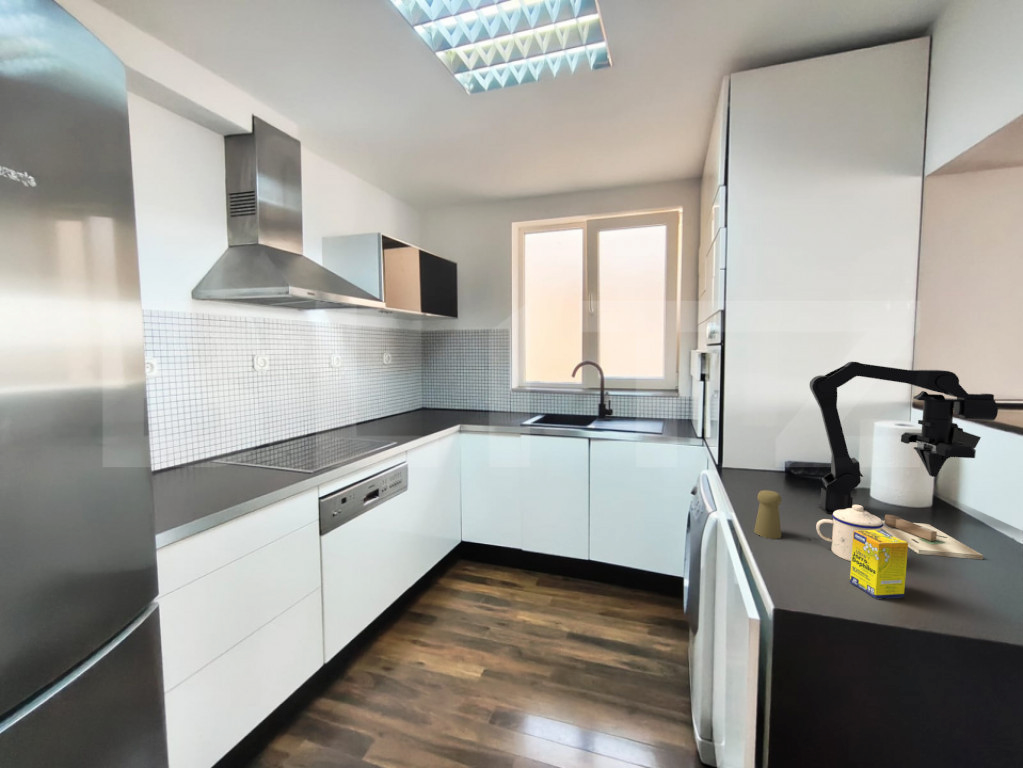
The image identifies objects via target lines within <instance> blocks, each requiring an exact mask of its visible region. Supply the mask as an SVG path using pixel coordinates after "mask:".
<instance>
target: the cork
mask: <svg viewBox="0 0 1023 768" xmlns="http://www.w3.org/2000/svg"><path fill="white" fill-rule="evenodd" d="M757 502H759V505H758V510H757V515H756V520H755V524H754V530H753V533H754V532H755V533H756V534H758V535H760V536H762V537H761V538H763V537H766V538H765V539H767V538H771V539H770V540H778V539H777V538H780V537H781V536H782V528H781V520H780V510H779V507H780V506H781V503H782V496H781V494H780V493H779V492H777V491H774V490H768V489H766V490H765V489H764V490H763V489H762V490H759V492H758V494H757ZM755 533H754V534H755ZM756 534H755V535H756ZM758 535H757V536H758ZM760 536H759V537H760ZM781 538H782V537H781ZM781 538H780V539H781Z"/></svg>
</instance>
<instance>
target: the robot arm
mask: <svg viewBox="0 0 1023 768" xmlns="http://www.w3.org/2000/svg"><path fill="white" fill-rule="evenodd" d="M856 377H862V378H863V377H864V378H870V379H876V380H881V381H882V380H883V381H889V382H896V383H901V384H902V383H903V384H908V385H912V386H914V387H918V388H921V389H924V390H925V391H924V390H921V392H919V393H918V394H917V395H915V396H913V399H914V400H917V401H923V407H922V419H918V421H917V424H918V425H921V432H904V433H903V434H901V436H900V442H901V443H903V444H906V445H907V444H910V443H917V446H915V447H913V450H915V451H916V453H917V455H918V456H919V458H920V460H921V462H922V463H923V465H924V467H925V470H926V471H927V473H928V475H929V477H933V478H936V477H937V476H938V474H939V473H940V471H941V469H942V467H943V466H944V464H945V463H946V461H947V460H948V459H950V458H962V459H963V458H964V459H965V458H966V459H976V451H977V449H976V448H977V446H978V444H979V442H980V440H981V438H982V437H981V436H978V435H976V434H972V433H970V432H966V431H964V429H963V428H962V427H959V425H958V423H955V422H953V420H954V415H956V416H958V417H959V419H960V420H968V421H970V420H971V421H985V422H986V421H987V422H989V421H990V422H993V421H995V420H996V419H997V416H998V413H999V411H998V410H999V408H998V405H997V402H996V400H995V394H993V393H968V392H967V391H966V389H964V388H963V387H962V386H961V384H960V379H959V376H958V375H957V374H956V373H955V372H953V371H951V370H950V371H949V370H943V369H903V368H896V367H889V366H882V365H874V364H866V363H861V362H858V361H849V362H847V363H845V364H844V365H842V366H840V367H838V368H836V369H834V370H832V371H830V372H828V373H826V374H824V375H823V374H821V375H815V376H814V377H813V378H812V379H811V380H810V381H809V389H810V391H811V393H812V395H813V397H814V400H815V401H816V403H817V405H818V407H819V410H820V413H821V417H822V421H823V424H824V429H825V432H826V433H825V434H826V437H827V440H828V445H829V448H830V449H829V450H830V453H831V459H830V464H831V465H830V469H831V471H830V473H828V474H826V475H825V476H823V477H822V478H821V480H822V482H823V485H824V486H825V487H821V489H820V492H821V494H820V504H817V507H818V508H820V509H821V510H822V511H824V512H825V513H826V514H829V515H832V514H833V512H834V511H836V510H843V509H848V508H852V506H853V502H854V501H853V499H854V497H852V491H853V489H855V488H857V487H858V486H859V485H860V484H861V481H862V479H861V478H862V477H864V475H863V474H862V473H861V465H860V462H859V460H857V458H855V457H852V458H851V456H850V453H849V450H848V447H847V443H846V438H845V435H844V431H843V427H842V424H841V418H840V415H839V411H838V388H840V387H842V386H843V385H845V384H847V383H848V382H850V381H851V380H852V379H854V378H856ZM926 390H927V391H931V392H935V393H940V394H931V393H928V392H927V391H926ZM944 395H946V396H950V397H954V398H945V396H944Z"/></svg>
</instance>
